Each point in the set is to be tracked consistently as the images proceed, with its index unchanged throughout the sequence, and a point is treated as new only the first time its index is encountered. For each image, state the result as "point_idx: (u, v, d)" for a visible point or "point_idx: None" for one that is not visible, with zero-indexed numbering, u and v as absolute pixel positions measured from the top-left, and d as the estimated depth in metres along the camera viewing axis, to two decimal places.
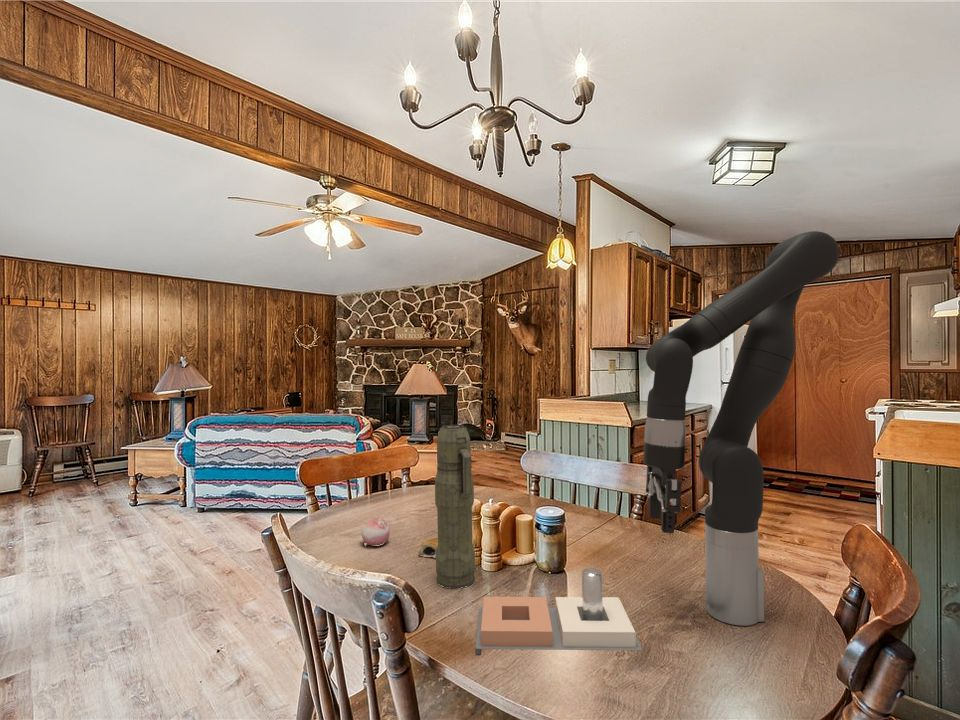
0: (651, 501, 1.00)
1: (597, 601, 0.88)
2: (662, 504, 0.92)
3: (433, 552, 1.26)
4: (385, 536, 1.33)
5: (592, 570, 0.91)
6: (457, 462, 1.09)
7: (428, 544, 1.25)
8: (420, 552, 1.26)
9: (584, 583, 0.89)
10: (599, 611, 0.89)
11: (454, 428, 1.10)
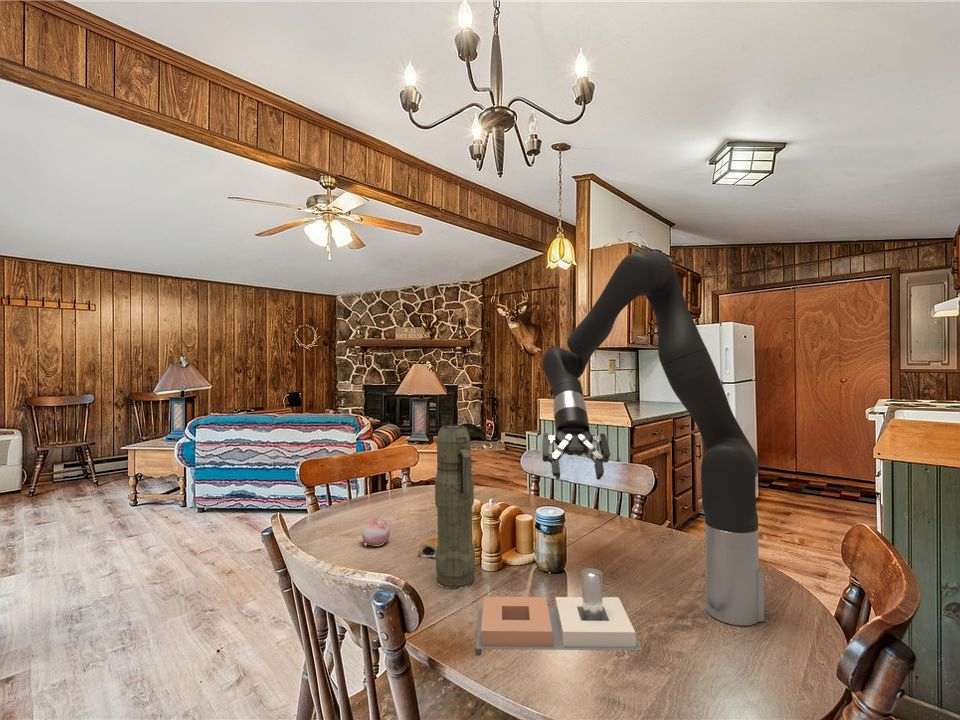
0: (594, 465, 1.06)
1: (597, 601, 0.88)
2: None
3: (432, 552, 1.26)
4: (385, 536, 1.33)
5: (592, 570, 0.91)
6: (457, 462, 1.09)
7: (427, 544, 1.25)
8: (419, 552, 1.26)
9: (584, 583, 0.89)
10: (599, 611, 0.89)
11: (454, 428, 1.10)
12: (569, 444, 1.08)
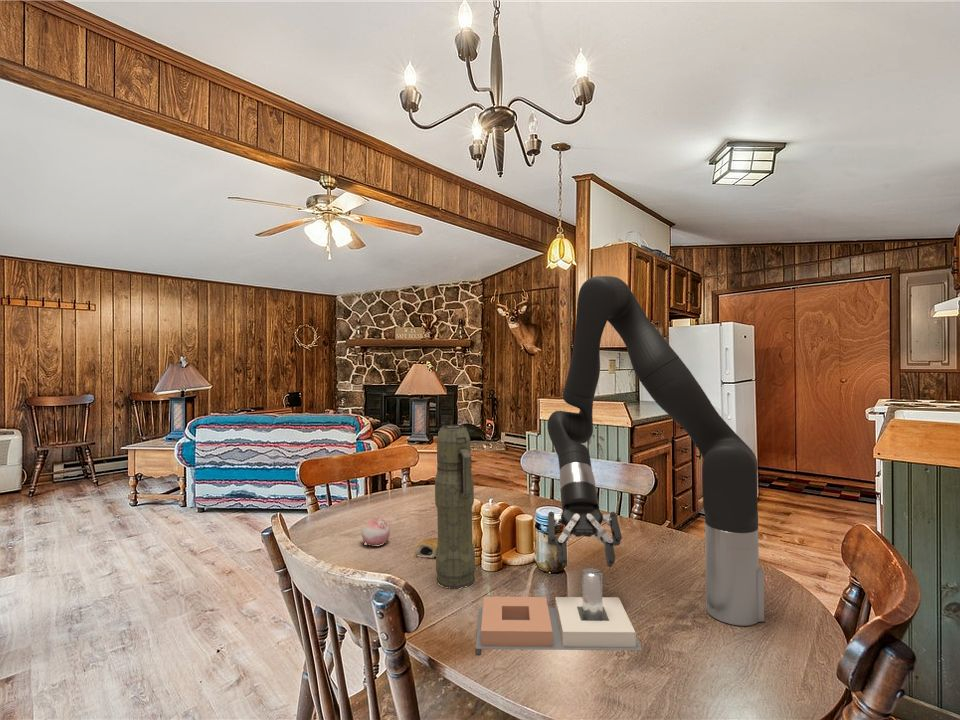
0: (605, 549, 0.97)
1: (597, 601, 0.88)
2: None
3: (430, 552, 1.26)
4: (385, 536, 1.33)
5: (592, 570, 0.91)
6: (457, 462, 1.09)
7: (425, 544, 1.25)
8: (417, 552, 1.26)
9: (584, 583, 0.89)
10: (599, 611, 0.89)
11: (454, 428, 1.10)
12: (577, 525, 0.99)
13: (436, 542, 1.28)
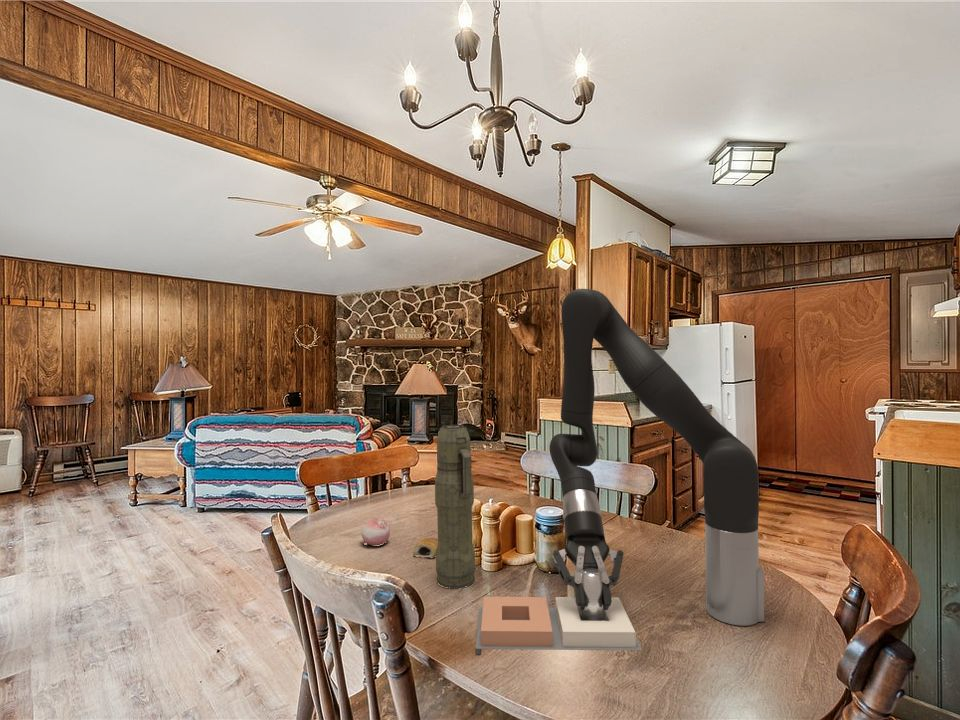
0: None
1: (597, 601, 0.88)
2: None
3: (428, 552, 1.26)
4: (385, 536, 1.33)
5: (592, 570, 0.91)
6: (457, 462, 1.09)
7: (423, 544, 1.25)
8: (415, 552, 1.26)
9: (584, 583, 0.89)
10: (599, 611, 0.89)
11: (454, 428, 1.10)
12: (585, 558, 0.93)
13: (434, 542, 1.28)
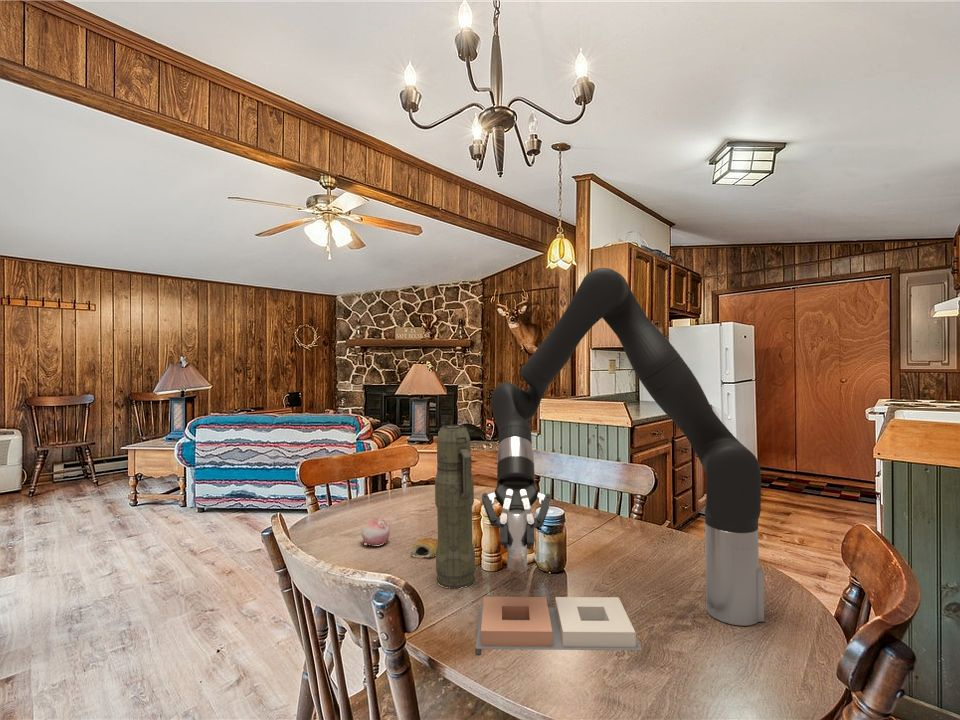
0: None
1: (520, 540, 0.89)
2: None
3: (426, 552, 1.26)
4: (385, 536, 1.33)
5: (517, 511, 0.92)
6: (457, 462, 1.09)
7: (421, 544, 1.25)
8: (413, 552, 1.26)
9: (508, 523, 0.90)
10: (522, 550, 0.89)
11: (454, 428, 1.10)
12: (513, 500, 0.94)
13: (432, 542, 1.28)
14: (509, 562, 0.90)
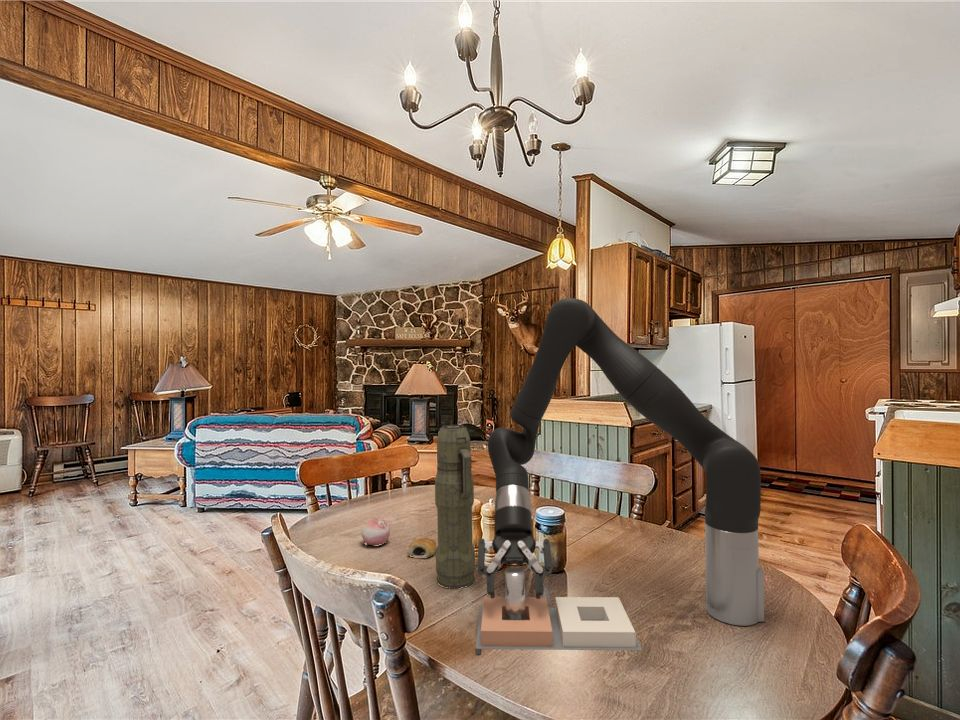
0: None
1: (519, 600, 0.89)
2: None
3: (423, 552, 1.26)
4: (385, 536, 1.33)
5: (515, 570, 0.91)
6: (457, 462, 1.09)
7: (418, 544, 1.25)
8: (409, 553, 1.25)
9: (506, 582, 0.90)
10: (520, 610, 0.89)
11: (454, 428, 1.10)
12: (507, 553, 0.94)
13: (428, 542, 1.28)
14: None
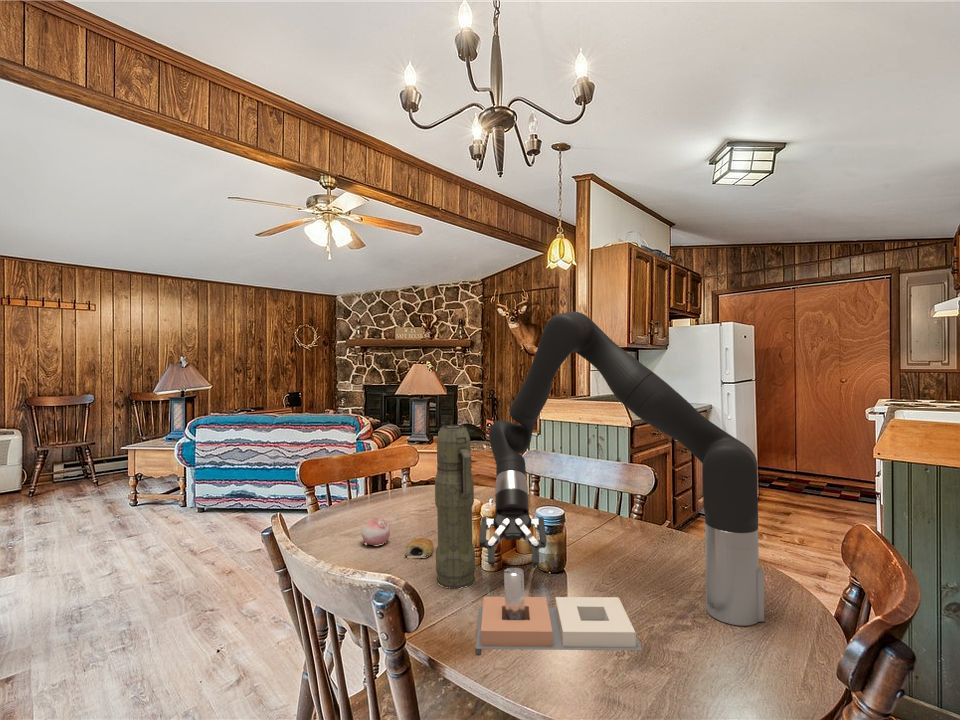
0: None
1: (518, 600, 0.89)
2: None
3: (420, 552, 1.26)
4: (385, 536, 1.33)
5: (514, 570, 0.91)
6: (457, 462, 1.09)
7: (415, 545, 1.25)
8: (407, 553, 1.25)
9: (505, 583, 0.90)
10: (520, 610, 0.89)
11: (454, 428, 1.10)
12: (506, 529, 1.07)
13: (425, 542, 1.28)
14: None
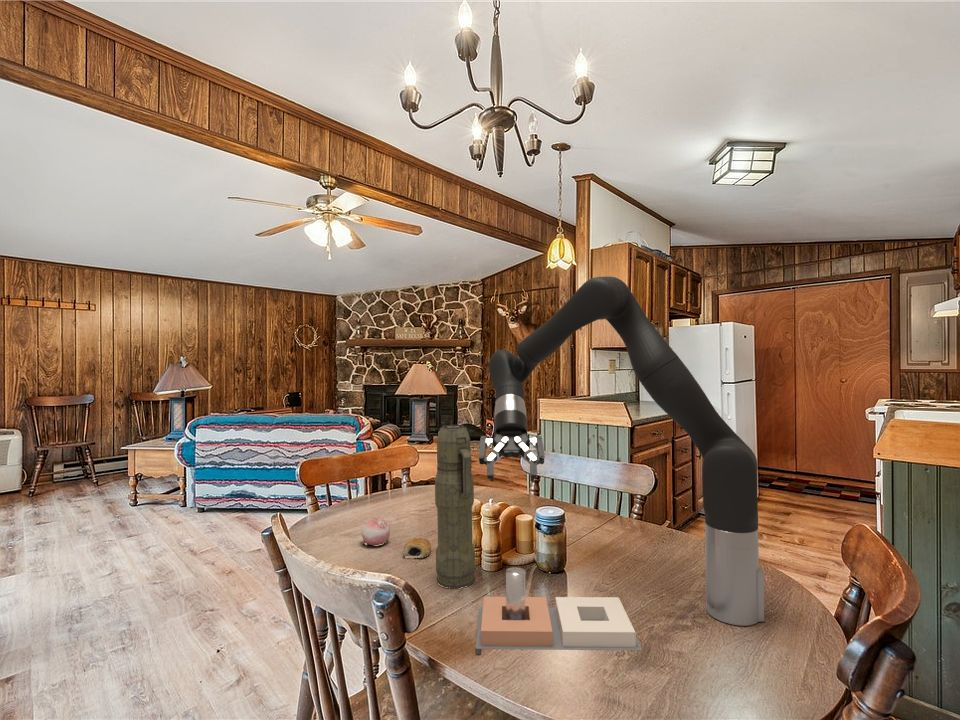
0: None
1: (519, 599, 0.89)
2: None
3: (418, 552, 1.26)
4: (385, 536, 1.33)
5: (516, 569, 0.92)
6: (457, 462, 1.09)
7: (413, 545, 1.25)
8: (405, 553, 1.25)
9: (507, 582, 0.90)
10: (521, 610, 0.89)
11: (454, 428, 1.10)
12: (505, 446, 1.09)
13: (423, 542, 1.28)
14: None
